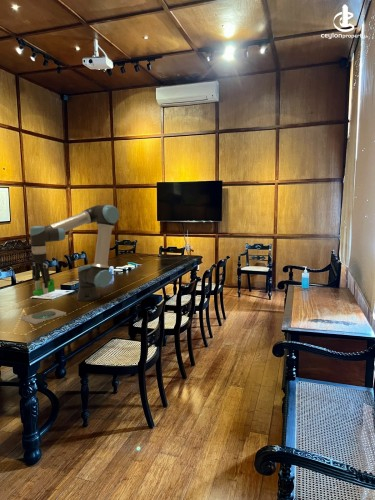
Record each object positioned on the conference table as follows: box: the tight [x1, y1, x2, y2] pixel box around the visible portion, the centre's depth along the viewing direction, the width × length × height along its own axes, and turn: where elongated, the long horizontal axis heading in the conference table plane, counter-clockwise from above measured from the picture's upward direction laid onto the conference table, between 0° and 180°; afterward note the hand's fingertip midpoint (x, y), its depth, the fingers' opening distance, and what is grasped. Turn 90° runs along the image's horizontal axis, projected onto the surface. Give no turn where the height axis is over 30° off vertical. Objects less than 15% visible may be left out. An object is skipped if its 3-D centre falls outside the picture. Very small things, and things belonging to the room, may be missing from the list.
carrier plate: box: [20, 308, 67, 325], centre depth 204 cm, size 20×14×1 cm
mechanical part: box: [32, 278, 56, 297], centre depth 202 cm, size 12×6×8 cm, turn 157°
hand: (42, 292), depth 202 cm, fingers closed on mechanical part, 7 cm apart
